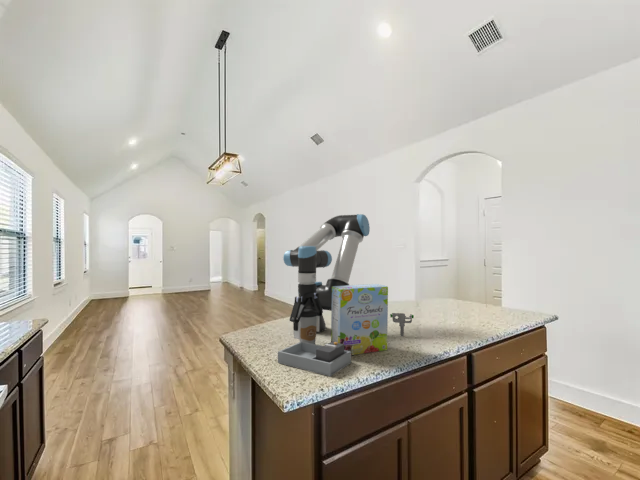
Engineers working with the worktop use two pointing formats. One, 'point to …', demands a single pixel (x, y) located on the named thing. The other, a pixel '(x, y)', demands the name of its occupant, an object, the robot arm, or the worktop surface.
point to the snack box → (360, 317)
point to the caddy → (311, 359)
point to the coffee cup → (308, 325)
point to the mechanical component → (401, 320)
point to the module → (330, 352)
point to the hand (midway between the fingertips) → (307, 334)
